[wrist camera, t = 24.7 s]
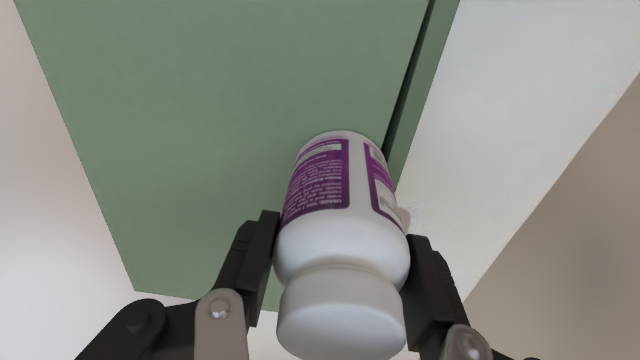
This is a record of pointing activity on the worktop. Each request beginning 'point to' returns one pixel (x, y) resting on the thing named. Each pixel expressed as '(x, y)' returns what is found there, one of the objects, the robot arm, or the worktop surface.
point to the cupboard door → (417, 84)
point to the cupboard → (211, 111)
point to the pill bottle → (341, 254)
